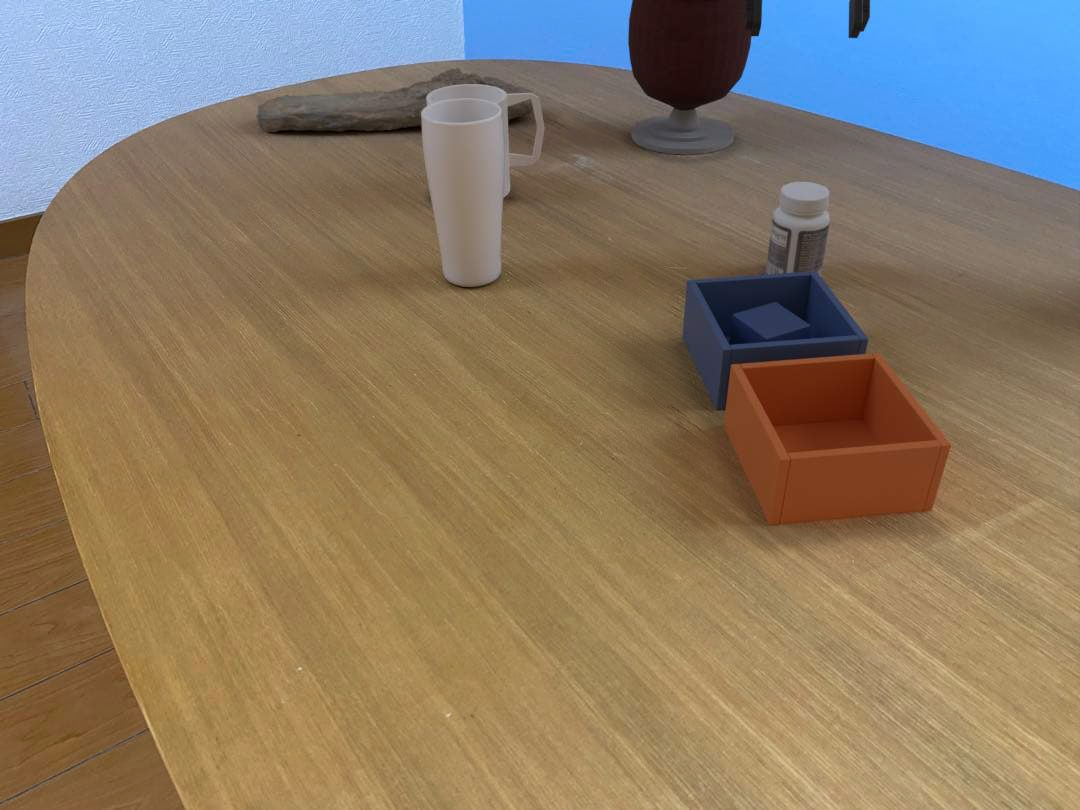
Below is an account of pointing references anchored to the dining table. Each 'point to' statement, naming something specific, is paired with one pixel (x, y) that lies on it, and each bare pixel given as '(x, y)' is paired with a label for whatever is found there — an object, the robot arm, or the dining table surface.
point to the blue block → (767, 325)
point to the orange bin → (833, 439)
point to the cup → (503, 101)
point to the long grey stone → (371, 106)
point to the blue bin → (729, 295)
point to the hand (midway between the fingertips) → (805, 32)
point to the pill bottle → (799, 229)
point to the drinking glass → (466, 186)
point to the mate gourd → (686, 69)
